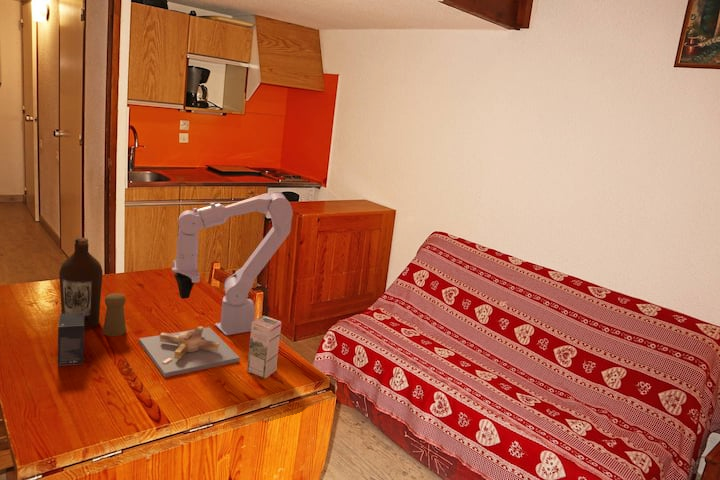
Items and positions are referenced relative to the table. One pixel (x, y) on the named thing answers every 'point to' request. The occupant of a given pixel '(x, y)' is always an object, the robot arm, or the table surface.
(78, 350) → the box
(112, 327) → the cork
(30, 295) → the table surface
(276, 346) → the syrup box
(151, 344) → the stand board
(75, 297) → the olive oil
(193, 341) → the capstan
